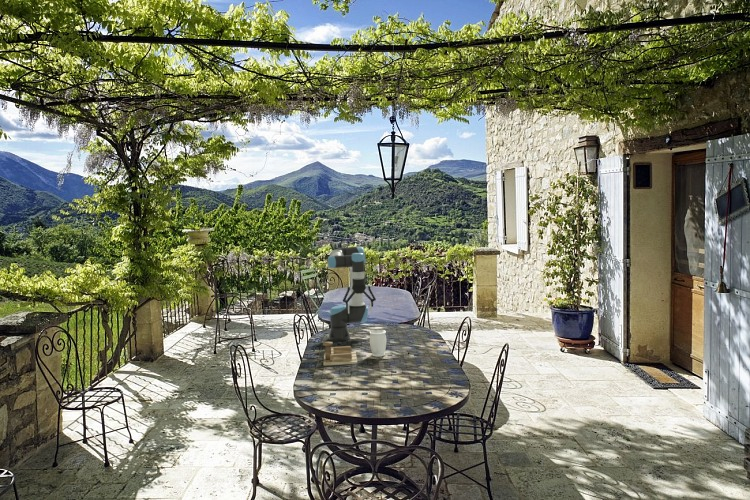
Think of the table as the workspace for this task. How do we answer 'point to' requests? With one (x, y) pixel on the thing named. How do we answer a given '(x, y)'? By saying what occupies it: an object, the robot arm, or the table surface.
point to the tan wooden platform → (338, 355)
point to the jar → (378, 342)
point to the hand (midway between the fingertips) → (359, 312)
